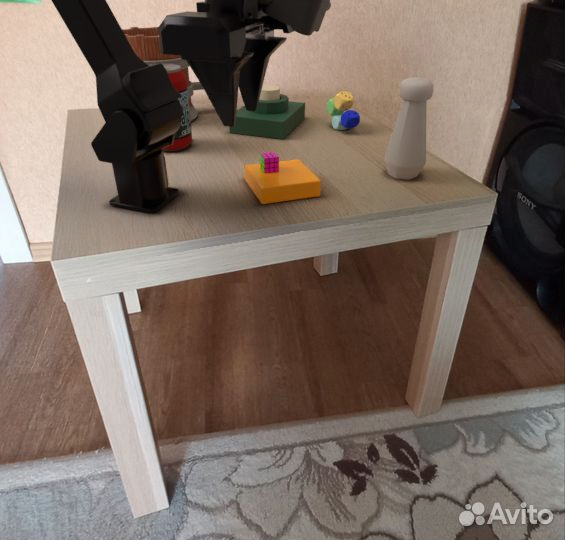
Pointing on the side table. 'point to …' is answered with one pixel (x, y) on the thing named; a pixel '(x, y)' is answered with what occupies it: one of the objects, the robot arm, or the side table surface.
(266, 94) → the beige round button
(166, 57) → the mug
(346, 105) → the dice
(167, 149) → the beverage can
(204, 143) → the side table surface
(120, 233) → the side table surface
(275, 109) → the green base with socket
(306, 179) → the orange square block
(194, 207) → the side table surface
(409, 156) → the salt shaker
